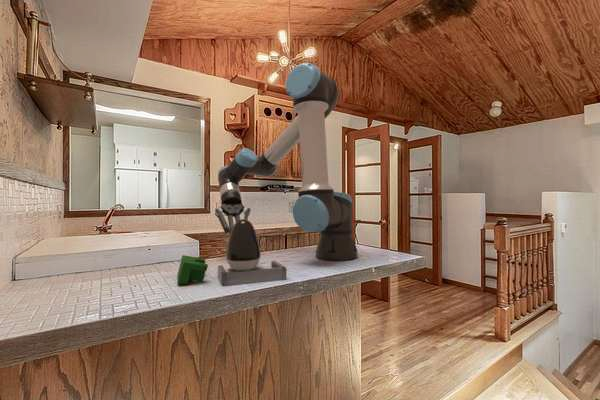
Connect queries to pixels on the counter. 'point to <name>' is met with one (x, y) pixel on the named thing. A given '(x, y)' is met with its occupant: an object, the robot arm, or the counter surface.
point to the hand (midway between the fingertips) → (238, 247)
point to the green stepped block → (191, 269)
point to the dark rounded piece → (243, 247)
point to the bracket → (252, 275)
